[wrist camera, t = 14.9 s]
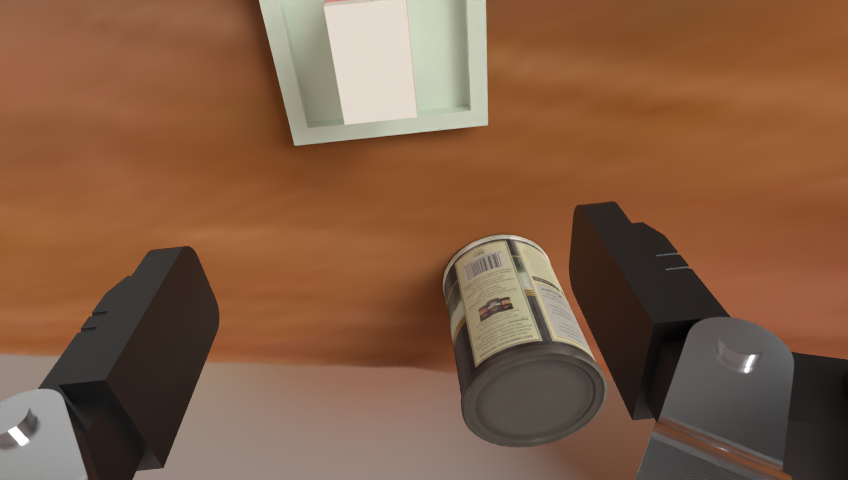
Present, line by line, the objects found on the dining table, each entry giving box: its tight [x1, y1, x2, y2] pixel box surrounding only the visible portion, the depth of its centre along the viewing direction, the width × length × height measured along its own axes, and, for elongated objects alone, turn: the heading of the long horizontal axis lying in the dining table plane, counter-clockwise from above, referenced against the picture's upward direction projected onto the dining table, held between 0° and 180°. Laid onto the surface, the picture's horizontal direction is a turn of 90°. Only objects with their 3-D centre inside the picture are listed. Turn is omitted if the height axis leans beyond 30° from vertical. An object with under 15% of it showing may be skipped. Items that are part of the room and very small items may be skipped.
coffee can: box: [443, 235, 607, 447], centre depth 42 cm, size 10×10×14 cm
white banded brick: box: [324, 0, 417, 125], centre depth 30 cm, size 4×6×9 cm
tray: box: [259, 0, 488, 146], centre depth 34 cm, size 14×14×2 cm
